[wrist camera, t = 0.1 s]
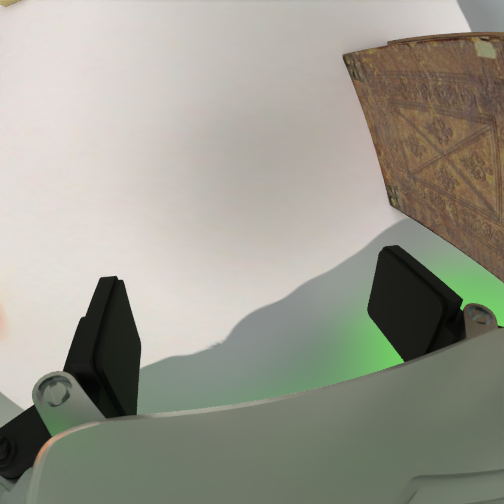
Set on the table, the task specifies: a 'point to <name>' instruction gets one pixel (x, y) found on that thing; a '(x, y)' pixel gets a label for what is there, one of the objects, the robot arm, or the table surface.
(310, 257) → the table surface
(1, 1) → the brass square peg
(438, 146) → the book
